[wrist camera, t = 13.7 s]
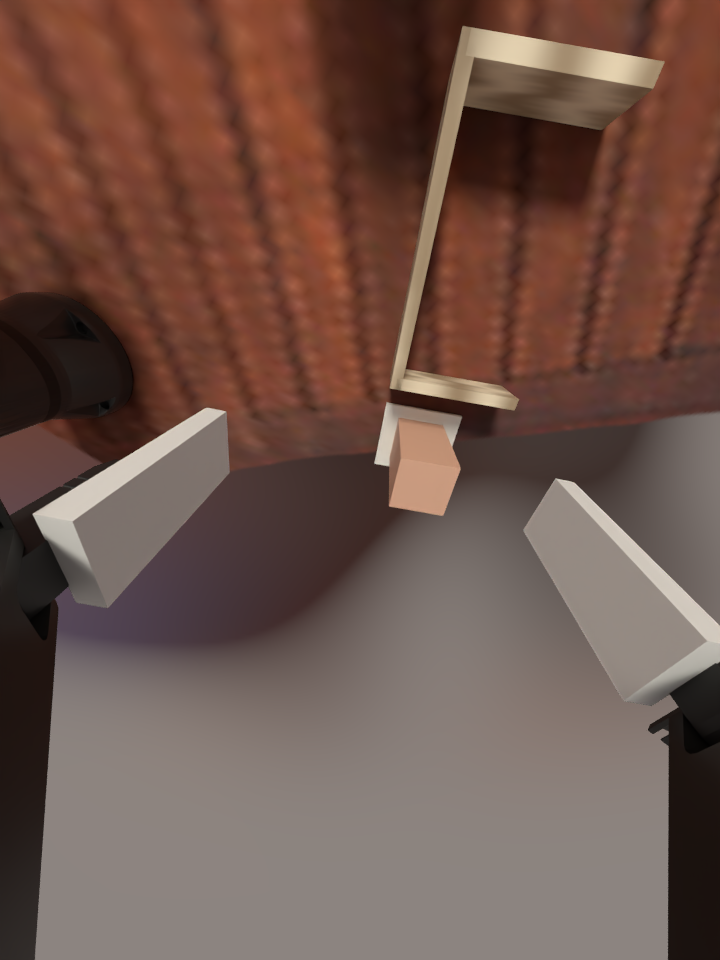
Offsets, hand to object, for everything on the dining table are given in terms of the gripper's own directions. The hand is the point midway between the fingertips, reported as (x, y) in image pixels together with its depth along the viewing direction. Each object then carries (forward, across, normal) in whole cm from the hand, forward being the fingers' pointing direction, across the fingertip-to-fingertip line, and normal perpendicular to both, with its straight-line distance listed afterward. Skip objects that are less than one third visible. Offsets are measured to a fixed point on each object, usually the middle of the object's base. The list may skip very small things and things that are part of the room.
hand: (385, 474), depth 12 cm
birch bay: (+29, +8, +10) cm, 32 cm away
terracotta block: (+28, +6, -10) cm, 31 cm away
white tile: (+29, +6, -10) cm, 31 cm away
